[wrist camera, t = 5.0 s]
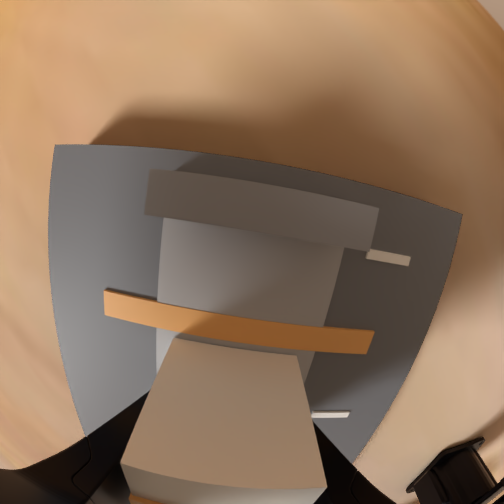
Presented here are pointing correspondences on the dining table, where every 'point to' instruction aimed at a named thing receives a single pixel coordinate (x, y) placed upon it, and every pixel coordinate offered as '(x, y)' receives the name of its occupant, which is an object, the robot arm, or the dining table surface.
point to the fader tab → (224, 431)
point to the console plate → (240, 276)
